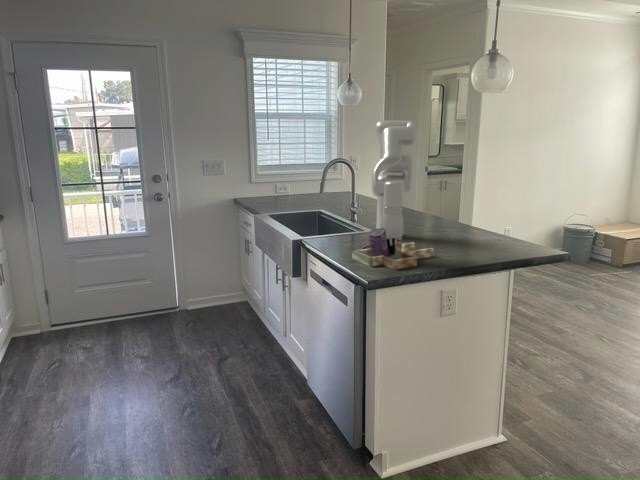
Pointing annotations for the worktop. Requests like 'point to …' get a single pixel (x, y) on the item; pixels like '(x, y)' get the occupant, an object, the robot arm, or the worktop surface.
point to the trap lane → (405, 259)
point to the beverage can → (378, 243)
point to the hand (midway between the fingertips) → (390, 254)
